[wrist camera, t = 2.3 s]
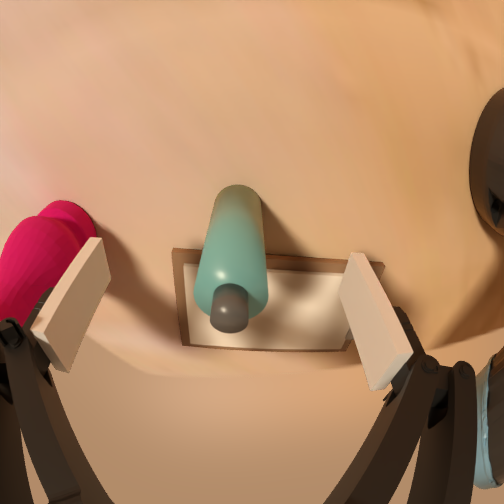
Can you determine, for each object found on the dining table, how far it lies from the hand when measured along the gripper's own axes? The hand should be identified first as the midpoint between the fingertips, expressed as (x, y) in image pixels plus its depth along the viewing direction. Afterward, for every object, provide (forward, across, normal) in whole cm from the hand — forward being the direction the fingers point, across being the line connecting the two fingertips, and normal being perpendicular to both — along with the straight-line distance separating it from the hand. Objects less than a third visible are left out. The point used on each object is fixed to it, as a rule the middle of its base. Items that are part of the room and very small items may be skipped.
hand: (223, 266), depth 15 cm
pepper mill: (+8, +14, +3) cm, 17 cm away
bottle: (+7, -1, 0) cm, 7 cm away
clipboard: (+7, -5, +10) cm, 13 cm away
